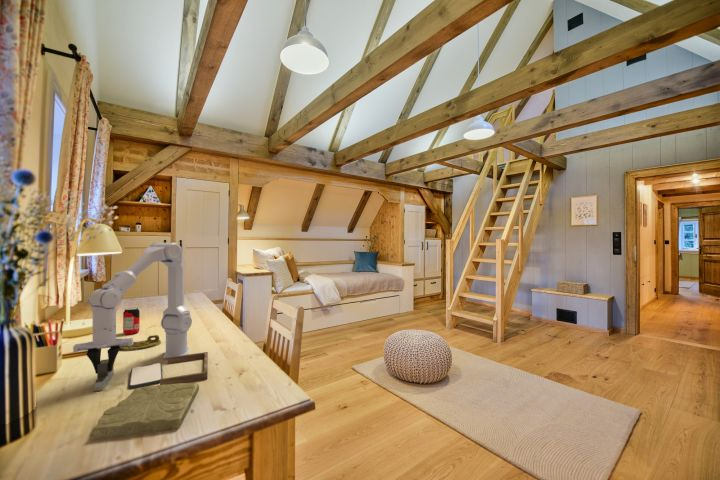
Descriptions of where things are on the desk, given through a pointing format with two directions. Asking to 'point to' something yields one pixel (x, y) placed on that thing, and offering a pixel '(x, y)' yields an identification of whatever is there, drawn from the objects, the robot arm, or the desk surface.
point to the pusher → (102, 375)
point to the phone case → (145, 375)
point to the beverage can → (131, 321)
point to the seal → (142, 344)
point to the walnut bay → (191, 376)
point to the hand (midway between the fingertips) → (104, 371)
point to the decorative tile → (147, 411)
